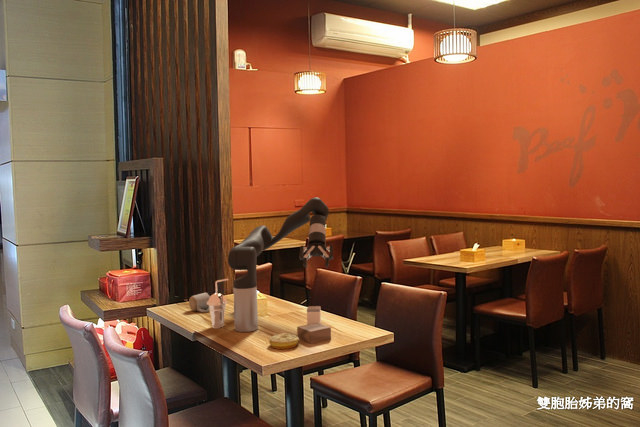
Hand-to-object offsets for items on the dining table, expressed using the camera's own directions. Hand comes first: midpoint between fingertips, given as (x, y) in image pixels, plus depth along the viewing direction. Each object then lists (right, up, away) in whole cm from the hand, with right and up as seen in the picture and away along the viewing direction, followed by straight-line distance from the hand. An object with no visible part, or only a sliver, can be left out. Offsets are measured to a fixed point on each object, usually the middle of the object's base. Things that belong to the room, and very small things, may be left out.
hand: (316, 266), depth 240 cm
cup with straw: (-40, -24, -4) cm, 47 cm away
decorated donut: (-11, -26, -32) cm, 43 cm away
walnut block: (-1, -25, -25) cm, 35 cm away
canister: (-1, -24, -13) cm, 27 cm away
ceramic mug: (-53, -23, +27) cm, 64 cm away
